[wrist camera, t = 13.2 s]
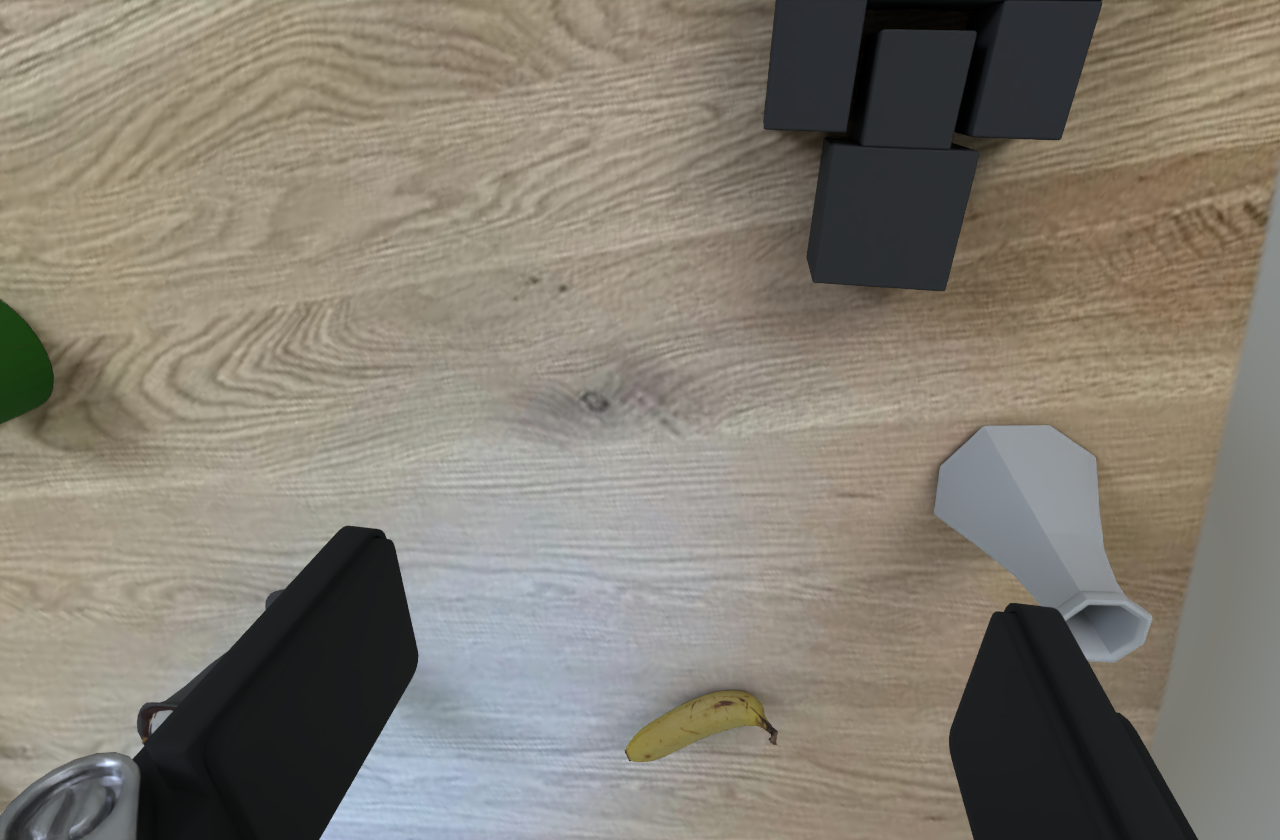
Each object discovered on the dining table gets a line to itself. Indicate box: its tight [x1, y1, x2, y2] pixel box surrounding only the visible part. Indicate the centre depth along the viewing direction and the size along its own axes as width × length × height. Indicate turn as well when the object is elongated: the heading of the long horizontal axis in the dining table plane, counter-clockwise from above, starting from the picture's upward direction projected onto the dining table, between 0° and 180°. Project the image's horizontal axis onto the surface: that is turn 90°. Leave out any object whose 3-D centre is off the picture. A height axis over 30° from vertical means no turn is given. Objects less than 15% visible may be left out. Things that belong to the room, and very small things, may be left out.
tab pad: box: [807, 29, 980, 291], centre depth 25 cm, size 9×5×4 cm, turn 179°
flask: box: [934, 425, 1153, 662], centre depth 28 cm, size 7×7×10 cm
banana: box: [625, 690, 778, 762], centre depth 41 cm, size 10×2×4 cm, turn 114°
